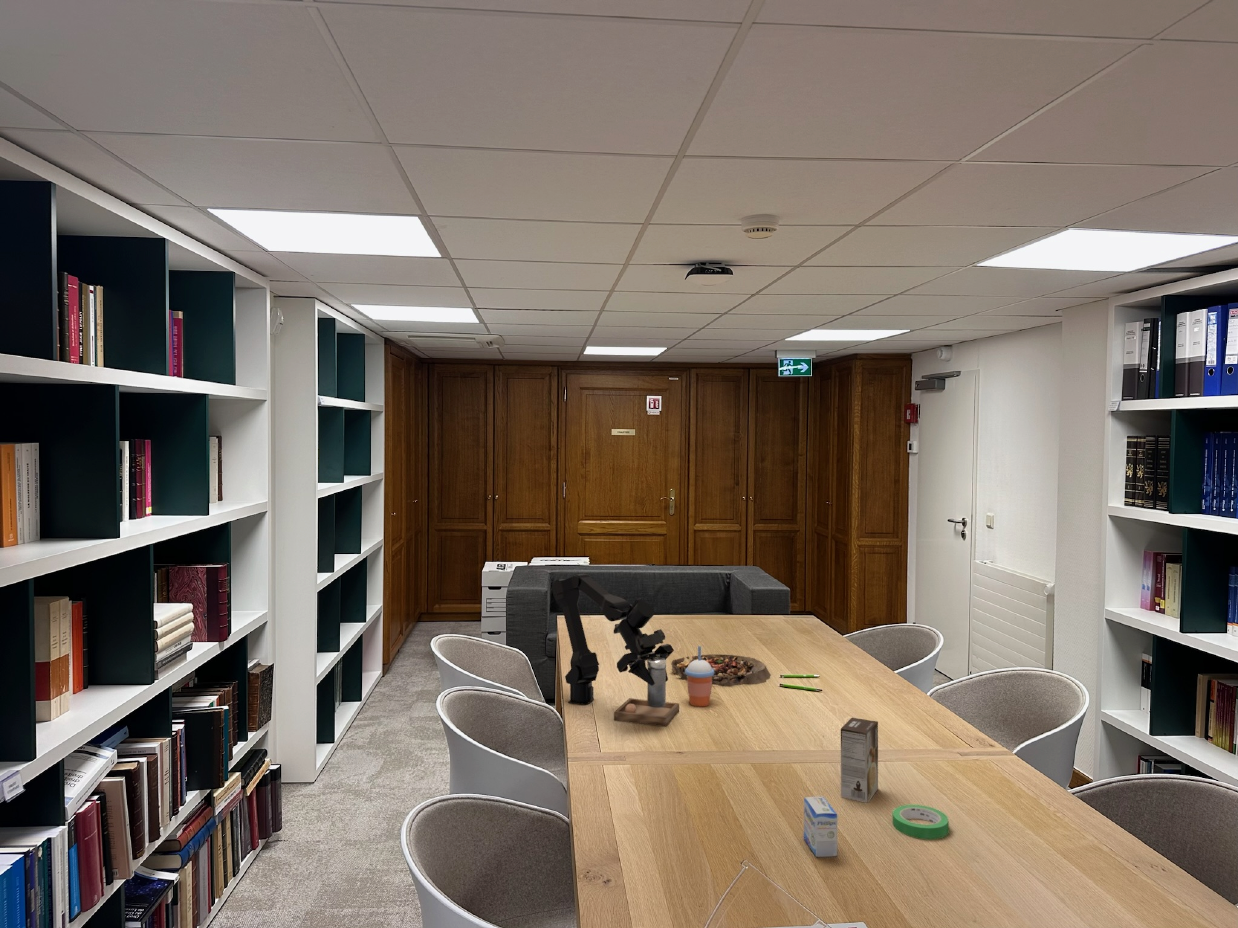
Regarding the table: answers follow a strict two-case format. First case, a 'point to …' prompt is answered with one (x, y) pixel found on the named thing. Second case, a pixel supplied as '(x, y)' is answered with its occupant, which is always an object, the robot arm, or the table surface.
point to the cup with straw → (699, 681)
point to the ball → (630, 708)
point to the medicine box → (820, 827)
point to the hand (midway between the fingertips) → (660, 682)
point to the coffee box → (859, 759)
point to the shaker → (657, 682)
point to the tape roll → (920, 830)
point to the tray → (647, 713)
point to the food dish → (728, 669)
